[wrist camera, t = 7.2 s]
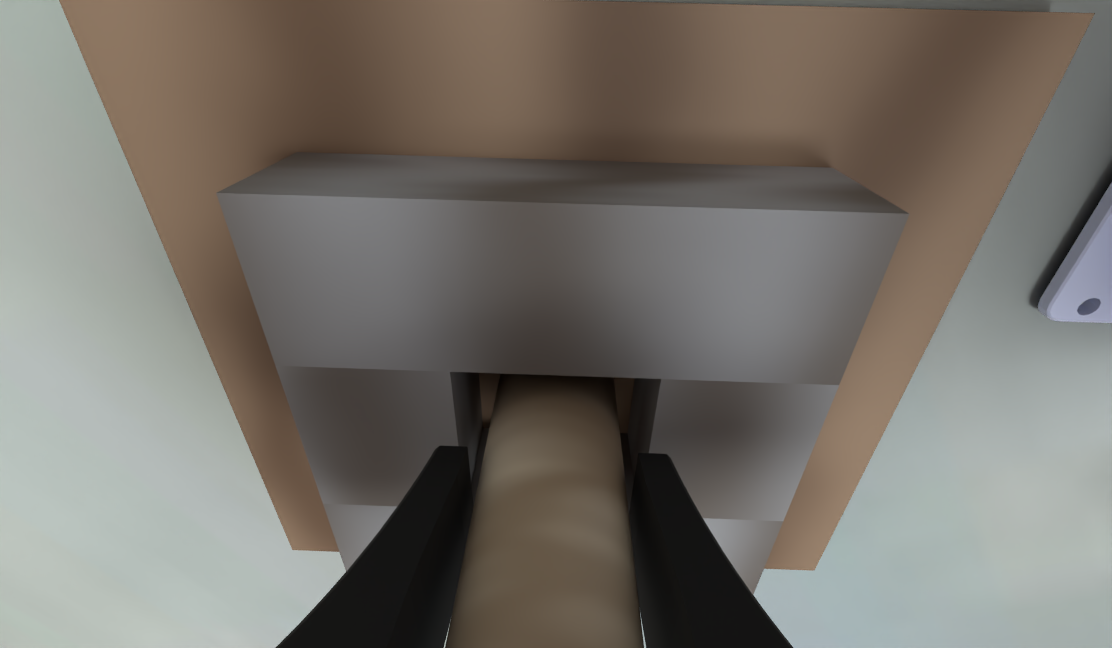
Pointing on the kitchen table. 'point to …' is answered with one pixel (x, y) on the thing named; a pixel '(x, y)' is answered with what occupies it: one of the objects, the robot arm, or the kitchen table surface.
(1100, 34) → the kitchen table surface
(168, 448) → the kitchen table surface
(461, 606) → the peg
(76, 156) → the kitchen table surface
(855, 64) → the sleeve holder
